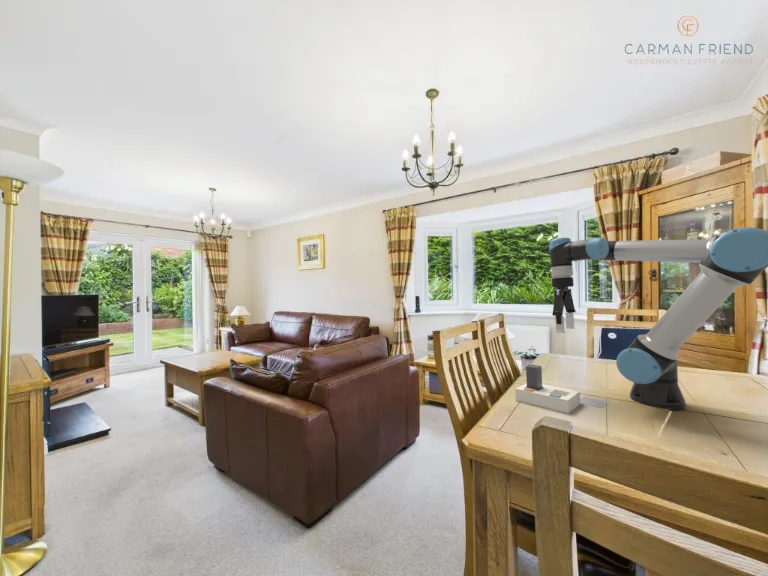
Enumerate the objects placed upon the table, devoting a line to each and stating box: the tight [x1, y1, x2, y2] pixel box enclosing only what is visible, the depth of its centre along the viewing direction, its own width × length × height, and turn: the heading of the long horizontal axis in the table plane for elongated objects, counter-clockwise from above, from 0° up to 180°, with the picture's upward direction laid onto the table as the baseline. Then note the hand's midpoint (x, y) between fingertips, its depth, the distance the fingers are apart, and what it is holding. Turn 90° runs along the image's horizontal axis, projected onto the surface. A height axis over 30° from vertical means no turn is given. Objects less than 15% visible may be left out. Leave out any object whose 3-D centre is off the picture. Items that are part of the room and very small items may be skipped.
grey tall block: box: [525, 364, 543, 391], centre depth 120 cm, size 4×4×12 cm
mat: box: [580, 396, 609, 409], centre depth 115 cm, size 8×8×1 cm
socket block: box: [514, 382, 581, 415], centre depth 116 cm, size 18×12×5 cm, turn 41°
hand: (565, 330), depth 126 cm, fingers open, 13 cm apart
